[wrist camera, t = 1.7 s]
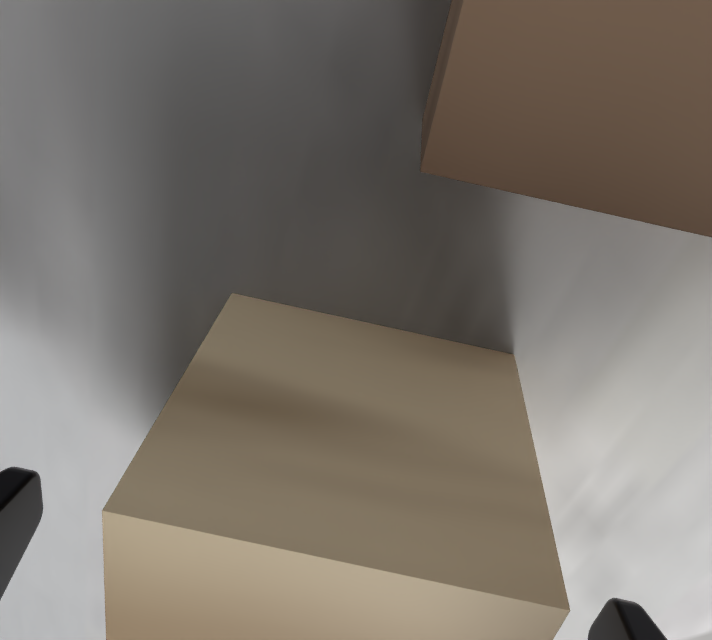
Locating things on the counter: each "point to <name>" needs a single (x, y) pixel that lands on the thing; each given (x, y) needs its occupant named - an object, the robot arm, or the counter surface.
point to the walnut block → (579, 105)
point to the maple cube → (333, 492)
